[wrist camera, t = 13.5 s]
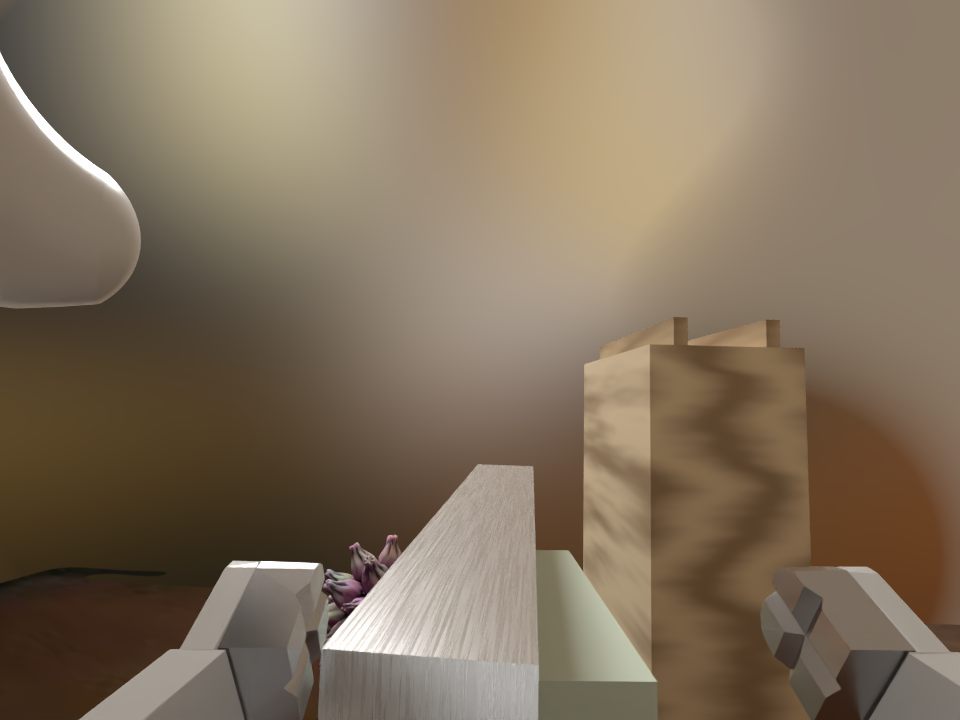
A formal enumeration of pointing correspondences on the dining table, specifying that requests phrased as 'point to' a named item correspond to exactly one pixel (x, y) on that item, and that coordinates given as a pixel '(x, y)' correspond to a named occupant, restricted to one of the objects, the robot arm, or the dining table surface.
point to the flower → (356, 582)
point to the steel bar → (448, 617)
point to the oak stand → (698, 508)
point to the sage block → (585, 651)
